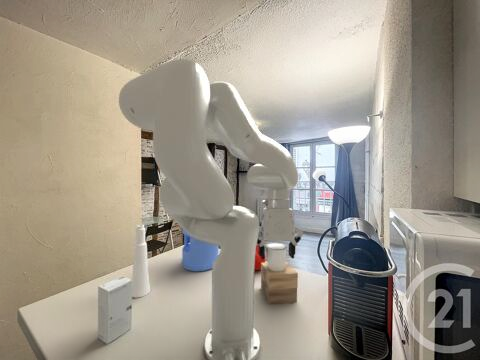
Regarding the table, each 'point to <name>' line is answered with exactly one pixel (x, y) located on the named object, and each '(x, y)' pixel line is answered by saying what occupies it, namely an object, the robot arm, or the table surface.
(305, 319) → the table surface
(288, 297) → the tower base block
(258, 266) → the tomato
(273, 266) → the white cup
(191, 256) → the water jug
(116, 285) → the skincare box
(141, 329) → the table surface
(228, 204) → the robot arm
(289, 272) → the tower top block
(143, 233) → the cosmetic bottle
